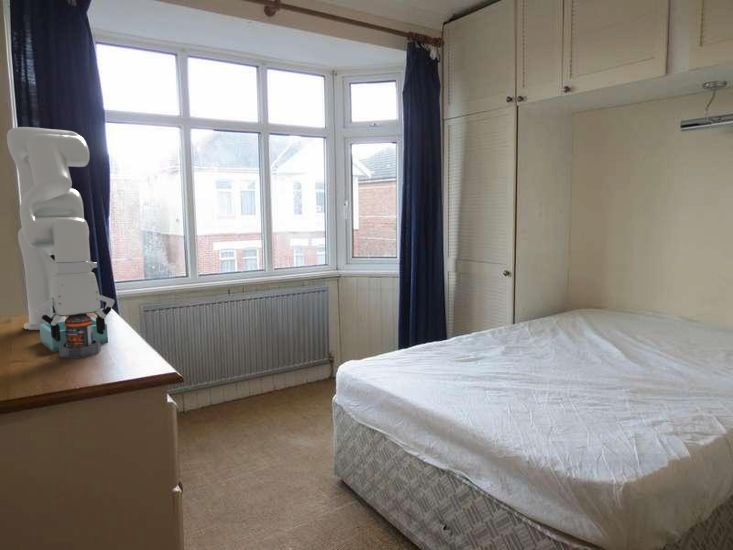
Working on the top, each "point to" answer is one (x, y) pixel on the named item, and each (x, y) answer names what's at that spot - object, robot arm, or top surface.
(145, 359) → the top surface
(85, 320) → the supplement bottle
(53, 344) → the bin
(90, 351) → the collar
